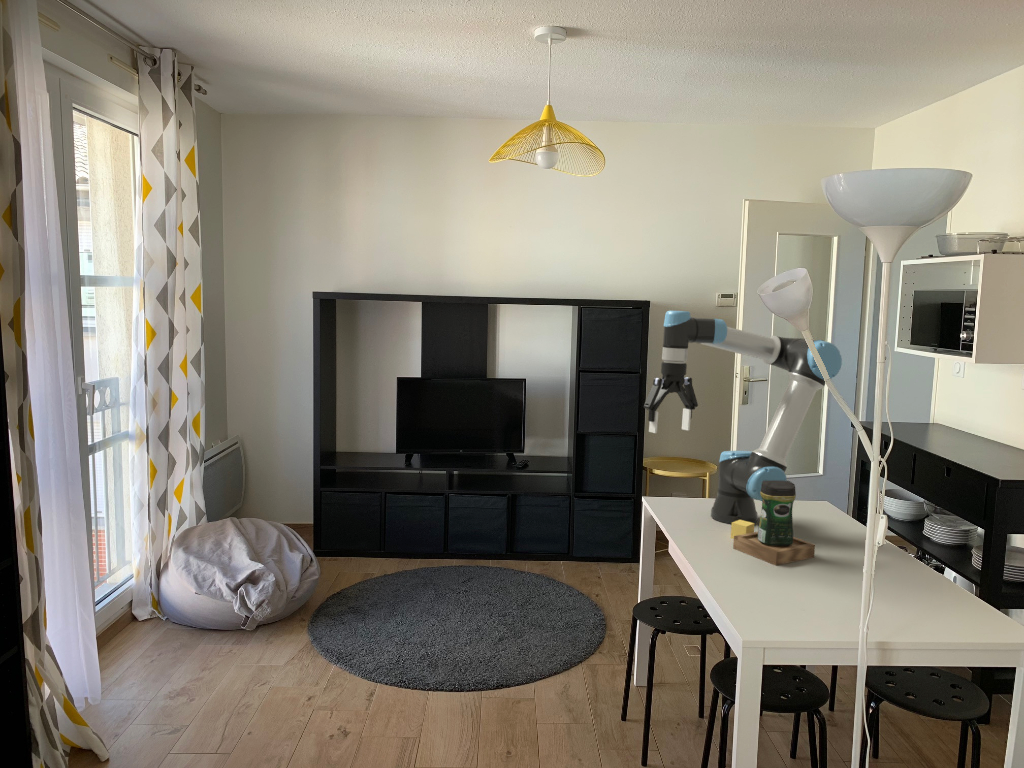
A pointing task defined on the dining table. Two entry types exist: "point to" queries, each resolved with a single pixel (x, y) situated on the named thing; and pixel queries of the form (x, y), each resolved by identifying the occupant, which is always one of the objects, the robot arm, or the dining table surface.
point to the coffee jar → (776, 513)
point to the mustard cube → (741, 528)
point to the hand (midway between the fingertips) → (669, 431)
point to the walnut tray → (773, 549)
